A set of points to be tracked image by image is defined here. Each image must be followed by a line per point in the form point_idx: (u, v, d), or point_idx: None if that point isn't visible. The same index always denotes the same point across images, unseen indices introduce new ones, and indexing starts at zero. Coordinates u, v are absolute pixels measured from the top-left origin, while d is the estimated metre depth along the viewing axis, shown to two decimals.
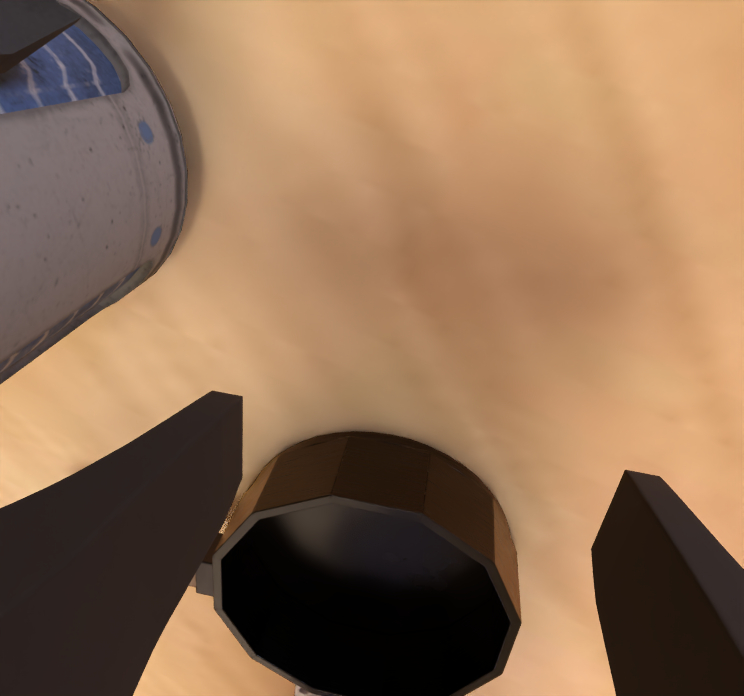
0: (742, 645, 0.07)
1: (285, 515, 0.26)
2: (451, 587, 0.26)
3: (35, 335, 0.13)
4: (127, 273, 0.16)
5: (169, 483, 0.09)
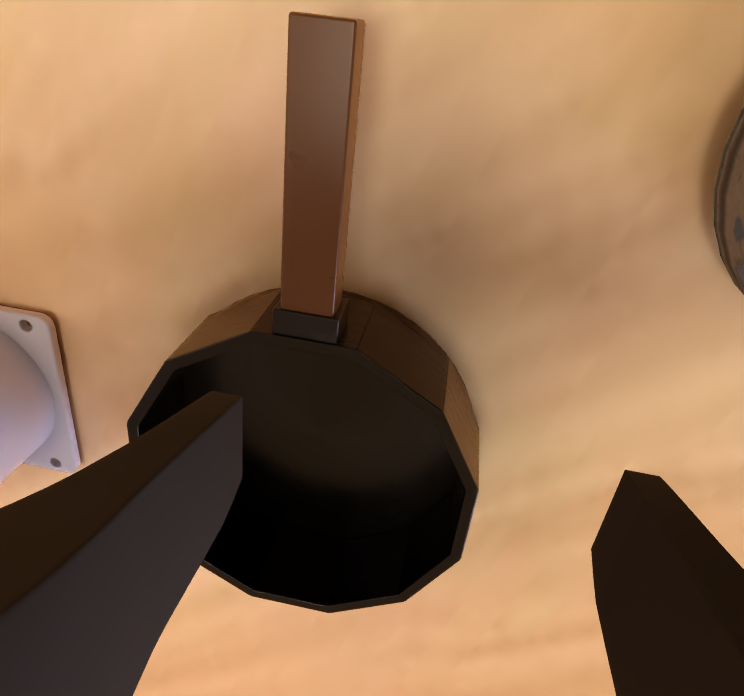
0: (742, 644, 0.07)
1: None
2: (282, 496, 0.25)
3: None
4: None
5: (169, 483, 0.09)
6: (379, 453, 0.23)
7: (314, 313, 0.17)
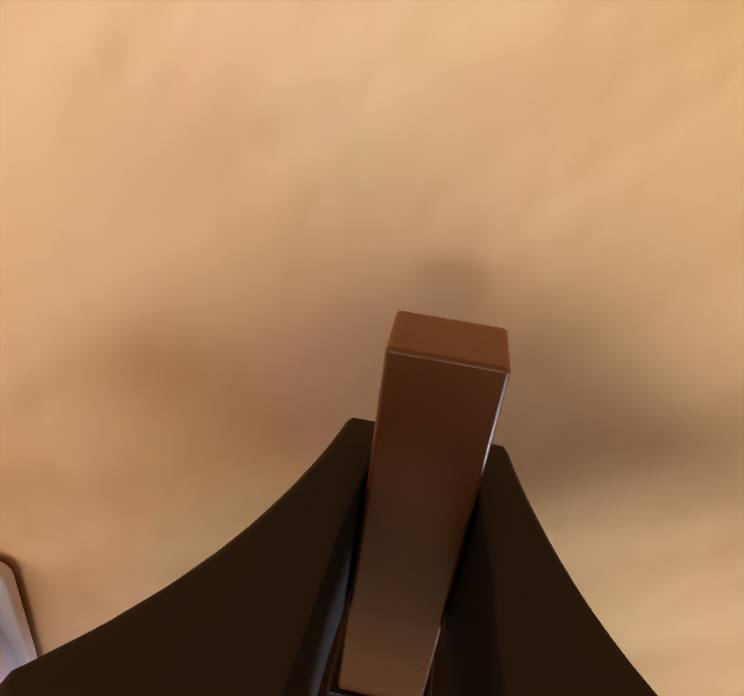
0: (501, 593, 0.07)
1: None
2: None
3: None
4: None
5: (349, 520, 0.08)
6: None
7: None
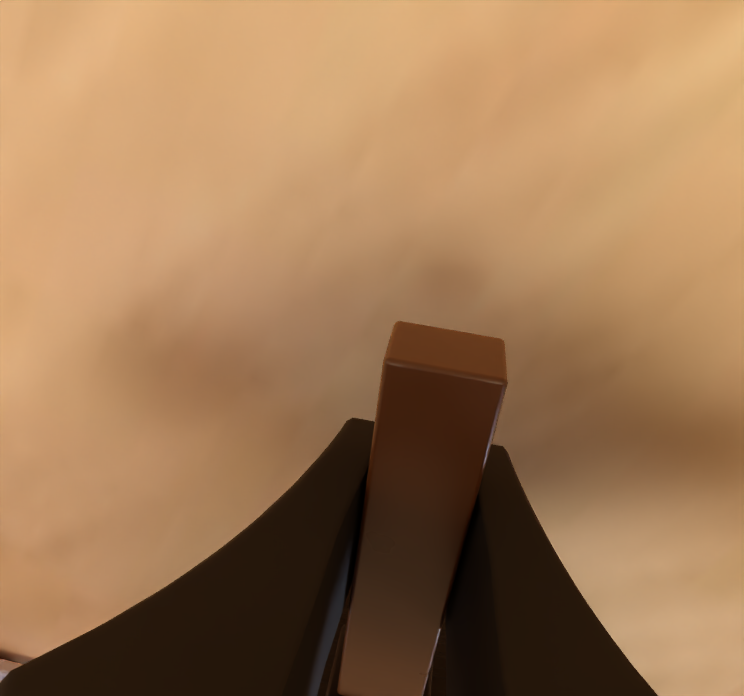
0: (501, 593, 0.07)
1: None
2: None
3: None
4: None
5: (349, 520, 0.08)
6: None
7: None
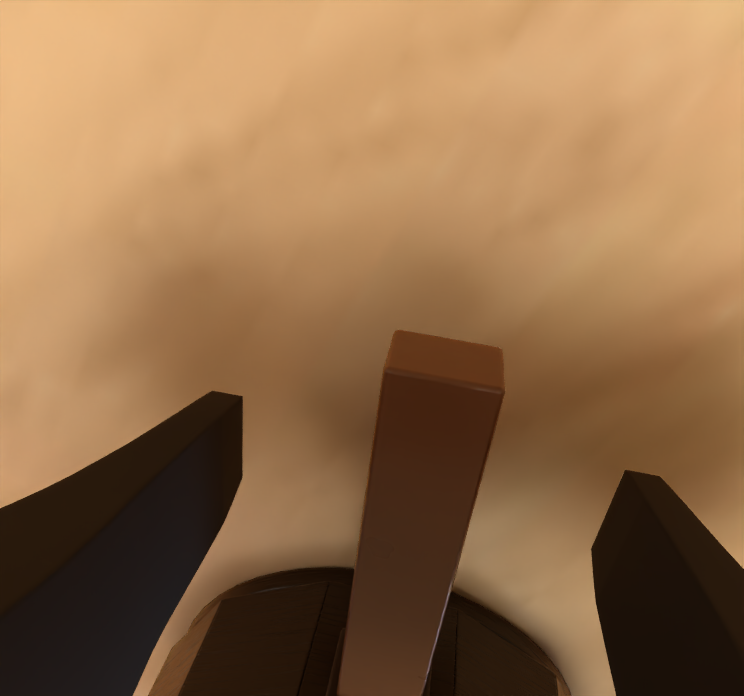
0: (742, 645, 0.07)
1: None
2: None
3: None
4: None
5: (169, 483, 0.09)
6: None
7: None
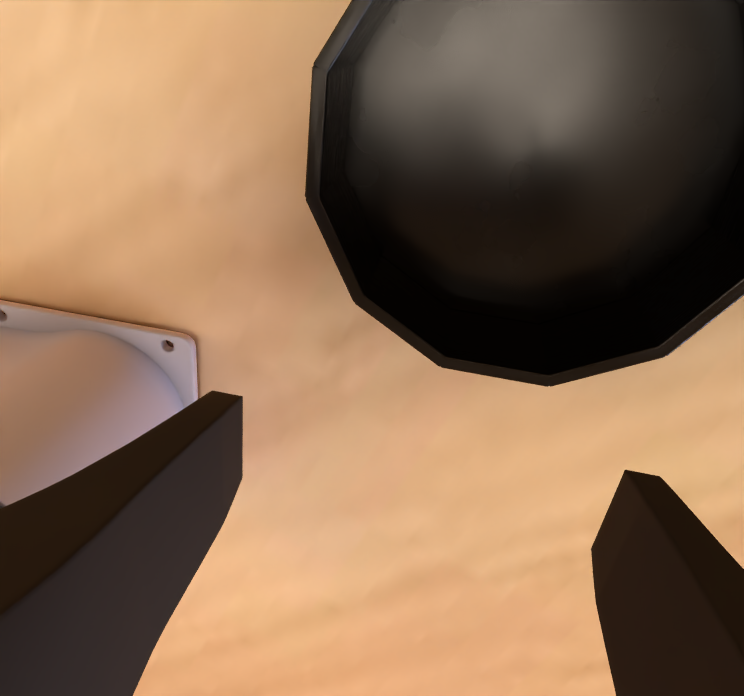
0: (742, 645, 0.07)
1: None
2: (464, 258, 0.19)
3: None
4: None
5: (169, 483, 0.09)
6: (615, 175, 0.17)
7: None
